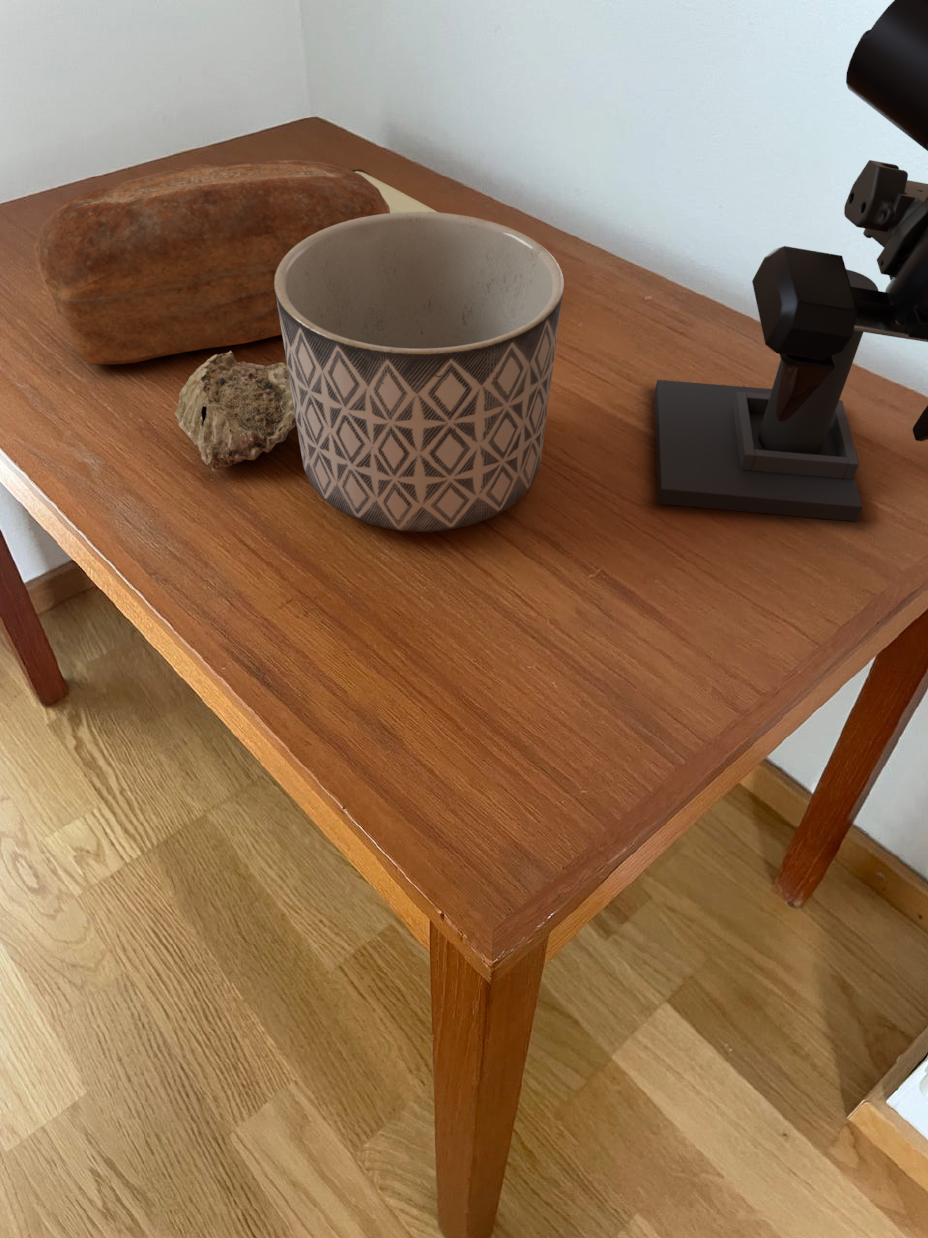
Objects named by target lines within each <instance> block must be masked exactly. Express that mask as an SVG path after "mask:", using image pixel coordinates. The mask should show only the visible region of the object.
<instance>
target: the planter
mask: <svg viewBox="0 0 928 1238" xmlns="http://www.w3.org/2000/svg"><path fill="white" fill-rule="evenodd" d="M564 284H565V280H564V275H563V271H562V269H561V267H560V265H559V263H558V261H557V260H556V259H555V257H554V256H553V255H552V254H551V253H550V252H549V251H548V250H547V248H545V247H544V246H543V245H541V244H540V243H539V242H538V241H536V240H535V239H532V238H531V237H529V236H528V235H526V234H524V233H522V232H520V231H518V230H516V229H513V228H511V227H509V226H505V225H503V224H500V223H497V222H494V221H491V220H487V219H483V218H478V217H475V216H469V215H463V214H456V213H448V212H438V211H437V212H398V213H387V214H379V215H372V216H367V217H362V218H357V219H353V220H349V221H346V222H342V223H339V224H336V225H333V226H330V227H328V228H325V229H323V230H321V231H319V232H316V233H315V234H313V235H311V236H309V237H307V238H306V239H304V240H302V241H301V242H300V243H298V244H297V245H296V246H294V247H293V248H292V249H291V250H290V251H289V252H288V253H287V254H286V255H285V257H284V258H283V259H282V261H281V262H280V264H279V266H278V268H277V271H276V274H275V280H274V285H275V293H276V299H277V305H278V312H279V318H280V324H281V330H282V335H281V336H282V342H283V347H284V348H283V349H284V354H285V362H286V365H287V368H288V374H289V380H290V386H291V392H292V399H293V405H294V411H295V417H296V424H297V426H296V428H297V429H296V431H297V435H298V442H299V448H300V454H301V460H302V466H303V469H304V472H305V475H306V477H307V479H308V481H309V483H310V484H311V487H312V488H313V489H314V490H315V491H316V493H317V494H318V495H319V496H320V497H321V498H322V499H323V500H324V501H325V502H326V503H328V504H329V506H331V507H333V508H335V509H336V510H338V511H339V512H341V513H342V514H344V515H346V516H348V517H350V518H352V519H354V520H357V521H359V522H361V523H365V524H368V525H371V526H374V527H379V528H383V529H387V530H393V531H400V532H412V533H413V532H414V533H422V532H423V533H425V532H427V533H428V532H443V531H449V530H455V529H461V528H464V527H465V528H466V527H468V526H472V525H475V524H478V523H481V522H483V521H486V520H489V519H491V518H492V517H495V516H497V515H499V514H501V513H502V512H504V511H505V510H508V509H509V508H510V507H512V506H513V505H515V504H516V503H517V502H519V500H520V499H521V498H522V497H523V496H524V495H525V494H526V493H527V491H528V490H529V489H530V488H531V486H532V485H533V483H534V481H535V480H536V477H537V475H538V473H539V470H540V467H541V462H542V455H543V448H544V440H545V433H546V424H547V417H548V410H549V403H550V394H551V386H552V379H553V370H554V365H555V364H554V363H555V358H556V357H555V356H556V348H557V342H558V341H557V340H558V333H559V325H560V320H561V319H560V318H561V310H562V302H563V297H564V287H565V285H564Z"/></svg>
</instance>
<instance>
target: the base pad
mask: <svg viewBox="0 0 928 1238" xmlns="http://www.w3.org/2000/svg"><path fill="white" fill-rule="evenodd" d="M771 391H772V388H764V387H754V386H753V387H752V386H750V387H749V386H741V385H740V386H738V385H727V384H714V383H705V382H691V381H690V382H689V381H677V380H667V379H666V380H665V379H657V380H656V384H655V389H654V421H655V422H654V423H655V451H656V453H655V454H656V456H655V457H656V480H657V481H656V482H657V483H656V484H657V485H656V487H657V503H658V505H666V506H667V505H668V506H669V505H670V506H680V507H689V508H690V507H691V508H700V509H701V508H702V509H712V510H725V511H736V512H746V513H756V514H757V513H758V514H768V515H780V516H788V517H789V516H791V517H801V518H813V519H823V520H833V521H835V520H837V521H847V522H857V521H858V518H859V516H860V514H861V511H862V509H863V503H862V500H861V496H860V491H859V489H858V484H857V481H856V477H855V476H856V473H857V471H858V468H859V466H860V462H859V458H858V455H857V451H856V447H855V444H854V440H853V435H852V433H851V429H850V425H849V421H848V417H847V414H846V409H845V406H844V402H843V400H842V399H839V402H838V405H837V408H836V410H835V413H834V416H833V419H832V421H831V424H830V427H829V430H828V433H827V435H826V438H825V441H824V444H823V447H822V449H821V451H820V453H819V454H818V455H813V454H802V453H790V452H779V451H767V450H765V449H764V448H763V446H762V445H761V444H760V442H759V438H758V437H759V432H760V428H761V425H762V422H763V418H764V415H765V412H766V408H767V405H768V401H769V398H770V395H771Z"/></svg>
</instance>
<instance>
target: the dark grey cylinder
mask: <svg viewBox="0 0 928 1238" xmlns="http://www.w3.org/2000/svg"><path fill="white" fill-rule="evenodd" d="M846 271H847V275H848V278H849V282H850V285H851V287H857V288H863V289H869V290H875V291H879V287H878V286H877V284H876V283H875V282H874V281H873V280H872V279H870V277H868V276H866V275H864V274H862V273H861V272H860V273H859V272H857V271H854V270H851V269H847V268H846ZM863 334H864V332H860V331H853V336H852V338H851V339H850V341H849V342H848V344H847V345H846V347H845V348H844V349H843V351H842V352H840V353H837V354H835V355H833V357H834V361H835V365H836V368H835V369H834V370H833V371H832V373H831V374H830V375H829V376H828V377H827V378H826V379H825V380H824V382H823V383H822V384H821V385H820V386H819V387H818V388H817V389H816V390H815V392H814V393H813V394H812V395H811V396H810V397H809V398H808V399H807V400H806V402H805V403H804V404H803V405H802V406H801V407H800V408H799V409H798V411H797V412H796V413H795V414H793V415H792V416H791V417H790V418H788V419H787V420H786V421H785V422H781V421H778V419H777V414H776V404H777V398H778V392H779V386H780V379H781V373H782V367H783V361H782V360H781V359H780V361H779V365H778V368H777V371H776V376H775V377H774V381H773V385H772V388H771V389H772V391H771V395H770V398H769V401H768V405H767V408H766V412H765V415H764V418H763V422H762V425H761V428H760V432H759V437H758V438H759V442H760V444H761V445H762V446H763V448H764V449H765V450H767V451H779V452H790V453H802V454H813V455H818V454H819V453H820V451H821V449H822V447H823V444H824V441H825V438H826V435H827V433H828V430H829V427H830V424H831V421H832V419H833V416H834V413H835V410H836V408H837V405H838V402H839V400H841V399H840V398H841V396H842V394H843V391H844V388H845V385H846V383H847V380H848V377H849V374H850V371H851V369H852V366H853V362H854V360H855V357H856V354H857V351H858V348H859V346H860V343H861V341H862V338H863Z"/></svg>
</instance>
